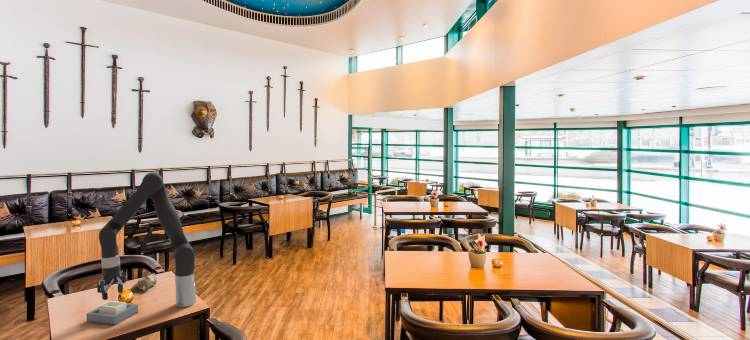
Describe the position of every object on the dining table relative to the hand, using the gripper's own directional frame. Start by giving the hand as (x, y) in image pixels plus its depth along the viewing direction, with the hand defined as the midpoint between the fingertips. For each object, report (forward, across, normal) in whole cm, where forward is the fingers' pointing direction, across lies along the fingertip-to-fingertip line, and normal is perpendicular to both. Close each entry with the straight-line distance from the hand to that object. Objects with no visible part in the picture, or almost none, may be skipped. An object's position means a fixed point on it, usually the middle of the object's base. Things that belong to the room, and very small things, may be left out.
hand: (113, 295), depth 186 cm
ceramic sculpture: (+12, +34, +13) cm, 39 cm away
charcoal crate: (+11, 0, 0) cm, 11 cm away
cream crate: (+10, 0, 0) cm, 10 cm away
